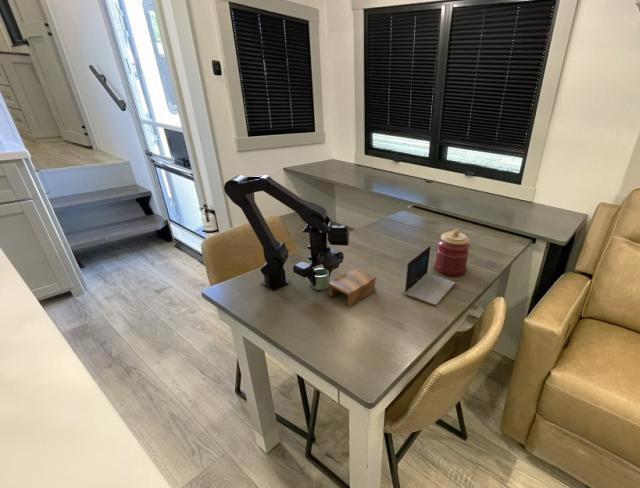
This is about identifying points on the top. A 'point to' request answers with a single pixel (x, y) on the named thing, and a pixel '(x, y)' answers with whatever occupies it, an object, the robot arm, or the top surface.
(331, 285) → the shelf
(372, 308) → the top surface
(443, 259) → the kitchen canister
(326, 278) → the ramekin
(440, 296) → the laptop
